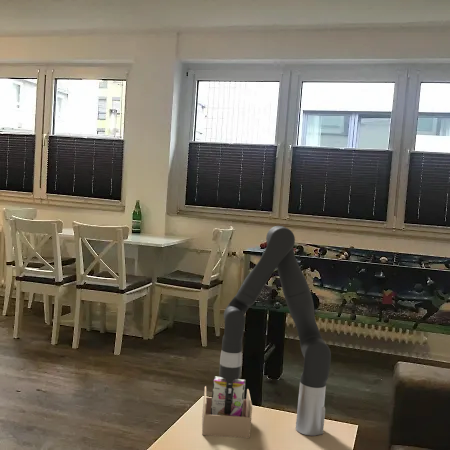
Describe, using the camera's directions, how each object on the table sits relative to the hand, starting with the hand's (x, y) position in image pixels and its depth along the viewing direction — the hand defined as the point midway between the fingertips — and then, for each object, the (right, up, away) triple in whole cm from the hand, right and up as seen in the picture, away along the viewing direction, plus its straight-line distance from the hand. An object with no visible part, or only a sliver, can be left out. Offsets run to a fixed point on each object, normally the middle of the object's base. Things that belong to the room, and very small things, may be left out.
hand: (227, 409), depth 200 cm
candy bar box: (0, -6, 0) cm, 6 cm away
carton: (-1, -6, 0) cm, 6 cm away
